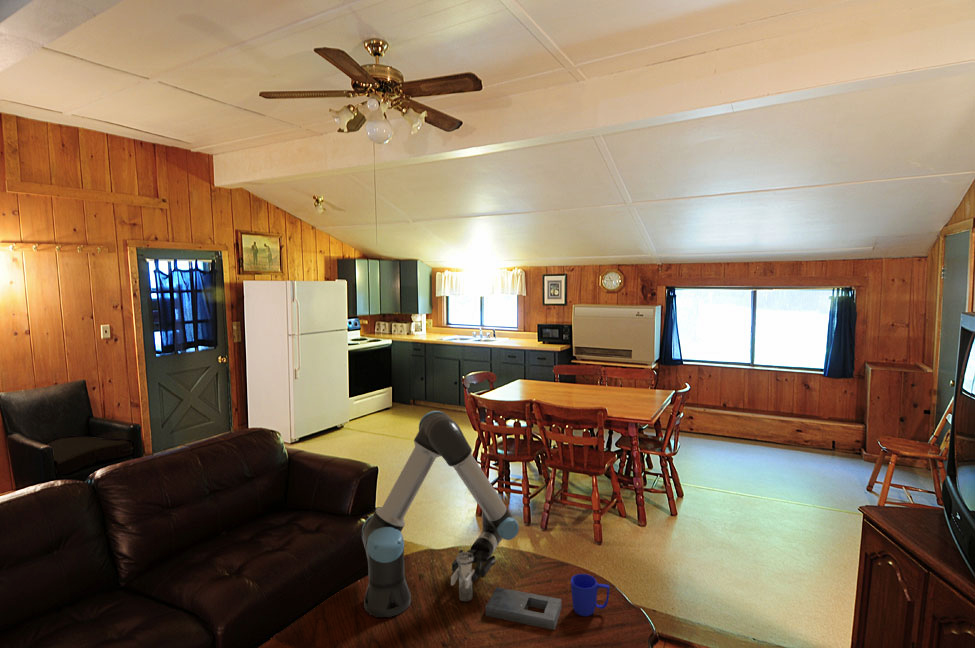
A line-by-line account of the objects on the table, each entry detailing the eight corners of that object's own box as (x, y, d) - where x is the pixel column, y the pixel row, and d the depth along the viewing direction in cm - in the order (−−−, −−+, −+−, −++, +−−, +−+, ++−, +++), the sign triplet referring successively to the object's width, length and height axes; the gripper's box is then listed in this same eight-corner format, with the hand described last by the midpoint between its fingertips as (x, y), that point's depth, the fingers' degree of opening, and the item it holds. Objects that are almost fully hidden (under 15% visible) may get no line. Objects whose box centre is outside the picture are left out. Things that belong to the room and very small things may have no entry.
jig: (485, 615, 160) (485, 606, 160) (496, 595, 170) (496, 586, 170) (554, 630, 153) (554, 620, 152) (561, 608, 163) (561, 599, 163)
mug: (610, 622, 156) (610, 591, 155) (570, 617, 158) (570, 587, 157) (609, 605, 164) (609, 576, 163) (571, 601, 166) (571, 572, 165)
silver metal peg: (454, 600, 166) (453, 559, 165) (461, 590, 172) (460, 550, 171) (470, 603, 164) (469, 562, 163) (476, 593, 170) (476, 553, 169)
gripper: (506, 561, 182) (484, 599, 160) (461, 553, 187) (434, 589, 165) (506, 541, 181) (484, 576, 159) (461, 533, 187) (434, 566, 165)
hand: (459, 582), depth 162 cm, fingers closed on silver metal peg, 4 cm apart
